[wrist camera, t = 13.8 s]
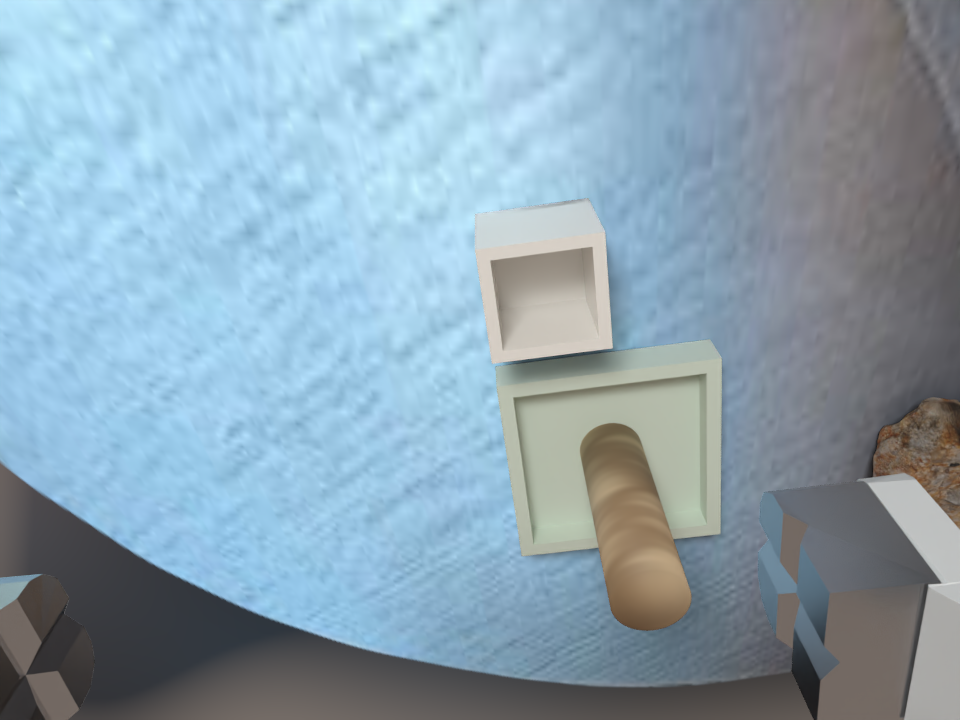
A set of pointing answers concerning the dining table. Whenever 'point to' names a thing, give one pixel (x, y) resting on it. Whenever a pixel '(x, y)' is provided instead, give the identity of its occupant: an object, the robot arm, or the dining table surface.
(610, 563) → the dowel
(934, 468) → the rock
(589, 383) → the tray
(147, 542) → the dining table surface
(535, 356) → the pen cup
